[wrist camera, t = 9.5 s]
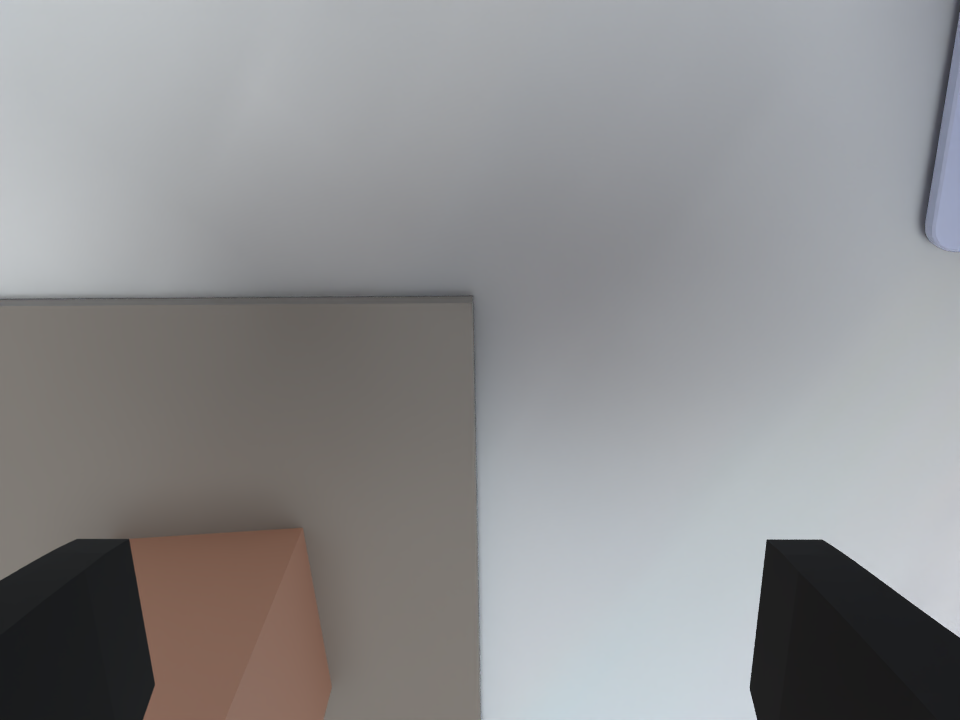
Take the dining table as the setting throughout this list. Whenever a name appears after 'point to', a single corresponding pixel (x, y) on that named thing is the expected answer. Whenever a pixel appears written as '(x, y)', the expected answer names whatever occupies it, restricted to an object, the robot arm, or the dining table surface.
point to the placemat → (268, 460)
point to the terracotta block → (232, 626)
